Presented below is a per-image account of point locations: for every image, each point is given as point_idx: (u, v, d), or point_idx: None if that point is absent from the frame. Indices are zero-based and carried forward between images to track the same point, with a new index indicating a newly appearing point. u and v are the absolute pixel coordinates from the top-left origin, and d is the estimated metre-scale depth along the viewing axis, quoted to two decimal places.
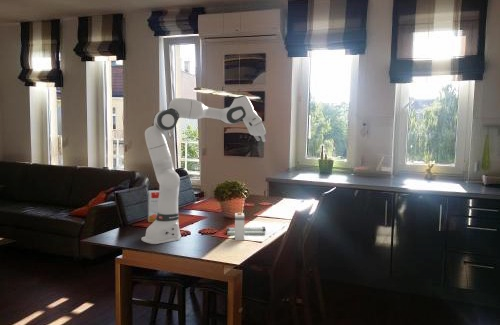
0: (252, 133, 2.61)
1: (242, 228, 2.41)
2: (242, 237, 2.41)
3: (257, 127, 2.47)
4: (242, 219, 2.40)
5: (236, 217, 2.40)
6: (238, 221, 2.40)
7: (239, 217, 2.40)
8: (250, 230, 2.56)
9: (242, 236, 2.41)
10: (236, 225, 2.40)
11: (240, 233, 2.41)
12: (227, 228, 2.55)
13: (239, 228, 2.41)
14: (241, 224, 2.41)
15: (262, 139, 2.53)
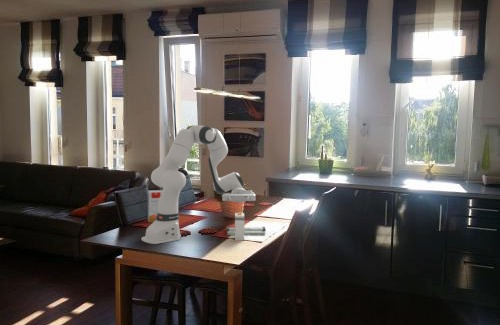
0: (232, 194, 2.60)
1: (242, 228, 2.41)
2: (242, 237, 2.41)
3: None
4: (242, 219, 2.40)
5: (236, 217, 2.40)
6: (238, 221, 2.40)
7: (239, 217, 2.40)
8: (250, 230, 2.56)
9: (242, 236, 2.41)
10: (236, 225, 2.40)
11: (240, 233, 2.41)
12: (227, 228, 2.55)
13: (239, 228, 2.41)
14: (241, 224, 2.41)
15: (248, 197, 2.57)
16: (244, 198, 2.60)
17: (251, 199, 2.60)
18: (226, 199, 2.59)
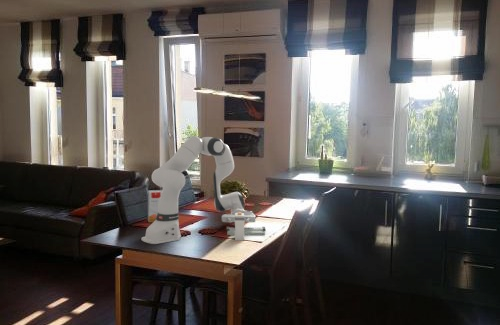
0: (232, 216, 2.58)
1: (242, 228, 2.41)
2: (242, 237, 2.41)
3: None
4: (242, 219, 2.40)
5: (236, 217, 2.40)
6: (238, 221, 2.40)
7: (239, 217, 2.40)
8: (250, 230, 2.56)
9: (242, 236, 2.41)
10: (236, 225, 2.40)
11: (240, 233, 2.41)
12: (227, 228, 2.55)
13: (239, 228, 2.41)
14: (241, 224, 2.41)
15: (248, 219, 2.55)
16: (244, 219, 2.58)
17: (251, 220, 2.57)
18: (226, 220, 2.57)
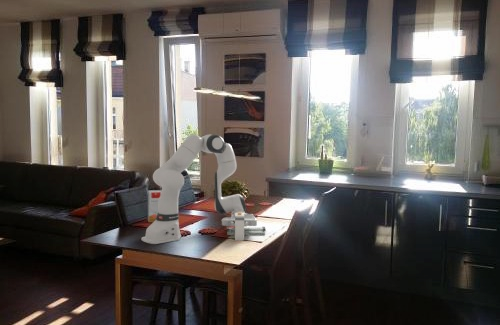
0: (232, 219, 2.49)
1: (242, 228, 2.41)
2: (242, 237, 2.41)
3: None
4: (242, 219, 2.40)
5: (236, 217, 2.40)
6: (238, 221, 2.40)
7: (239, 217, 2.40)
8: (250, 230, 2.56)
9: (242, 236, 2.41)
10: (236, 225, 2.40)
11: (240, 233, 2.41)
12: (227, 228, 2.55)
13: (239, 228, 2.41)
14: (241, 224, 2.41)
15: (246, 222, 2.45)
16: (245, 223, 2.49)
17: (252, 224, 2.48)
18: (226, 224, 2.47)
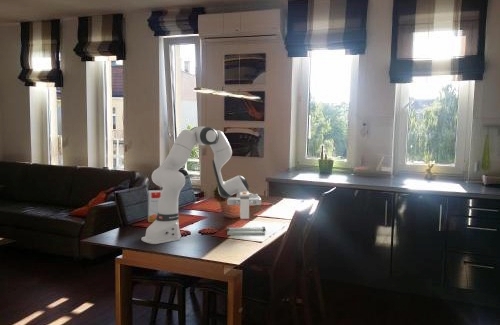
0: (237, 198, 2.56)
1: (247, 207, 2.48)
2: (247, 215, 2.48)
3: None
4: (247, 198, 2.47)
5: (241, 196, 2.47)
6: (243, 200, 2.47)
7: (244, 196, 2.47)
8: (250, 230, 2.56)
9: (247, 214, 2.48)
10: (241, 204, 2.48)
11: (245, 212, 2.48)
12: (227, 228, 2.55)
13: (244, 207, 2.48)
14: (246, 203, 2.48)
15: (251, 201, 2.52)
16: None
17: (257, 203, 2.55)
18: (231, 203, 2.55)
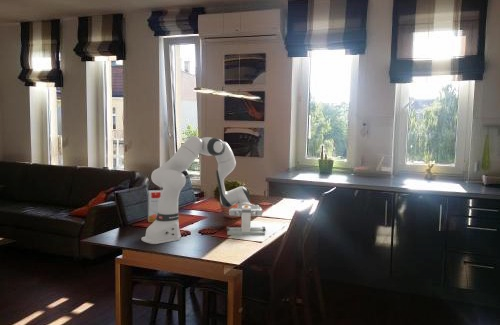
0: (239, 209, 2.61)
1: (248, 220, 2.54)
2: (248, 229, 2.54)
3: None
4: (249, 211, 2.53)
5: (243, 209, 2.53)
6: (245, 213, 2.53)
7: (246, 209, 2.53)
8: (250, 230, 2.56)
9: (248, 228, 2.54)
10: (243, 217, 2.53)
11: (246, 225, 2.54)
12: (227, 228, 2.55)
13: (246, 220, 2.53)
14: (248, 216, 2.53)
15: (254, 212, 2.58)
16: (251, 213, 2.61)
17: (258, 214, 2.61)
18: (233, 214, 2.60)
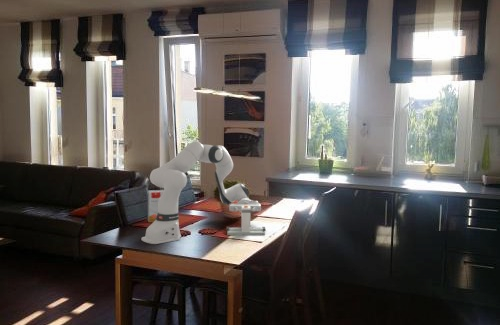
0: (238, 205, 2.74)
1: (248, 220, 2.53)
2: (248, 229, 2.54)
3: None
4: (248, 211, 2.53)
5: (243, 209, 2.53)
6: (245, 213, 2.53)
7: (245, 209, 2.53)
8: (250, 230, 2.56)
9: (248, 228, 2.54)
10: (243, 217, 2.53)
11: (246, 225, 2.54)
12: (227, 228, 2.55)
13: (246, 220, 2.53)
14: (247, 216, 2.53)
15: (254, 208, 2.70)
16: None
17: (257, 209, 2.73)
18: (233, 209, 2.72)
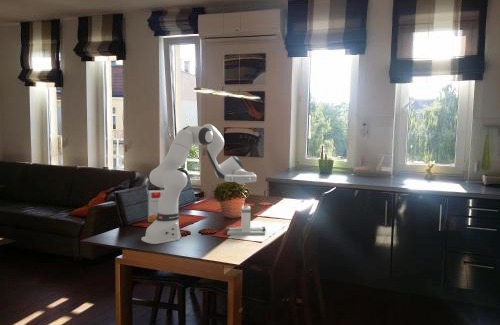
0: (234, 175, 2.72)
1: (248, 220, 2.53)
2: (248, 229, 2.54)
3: None
4: (248, 211, 2.53)
5: (243, 209, 2.53)
6: (245, 213, 2.53)
7: (245, 209, 2.53)
8: (250, 230, 2.56)
9: (248, 228, 2.54)
10: (243, 217, 2.53)
11: (246, 225, 2.54)
12: (227, 228, 2.55)
13: (246, 220, 2.53)
14: (247, 216, 2.53)
15: (250, 178, 2.68)
16: (246, 179, 2.72)
17: (252, 180, 2.71)
18: (228, 180, 2.71)
